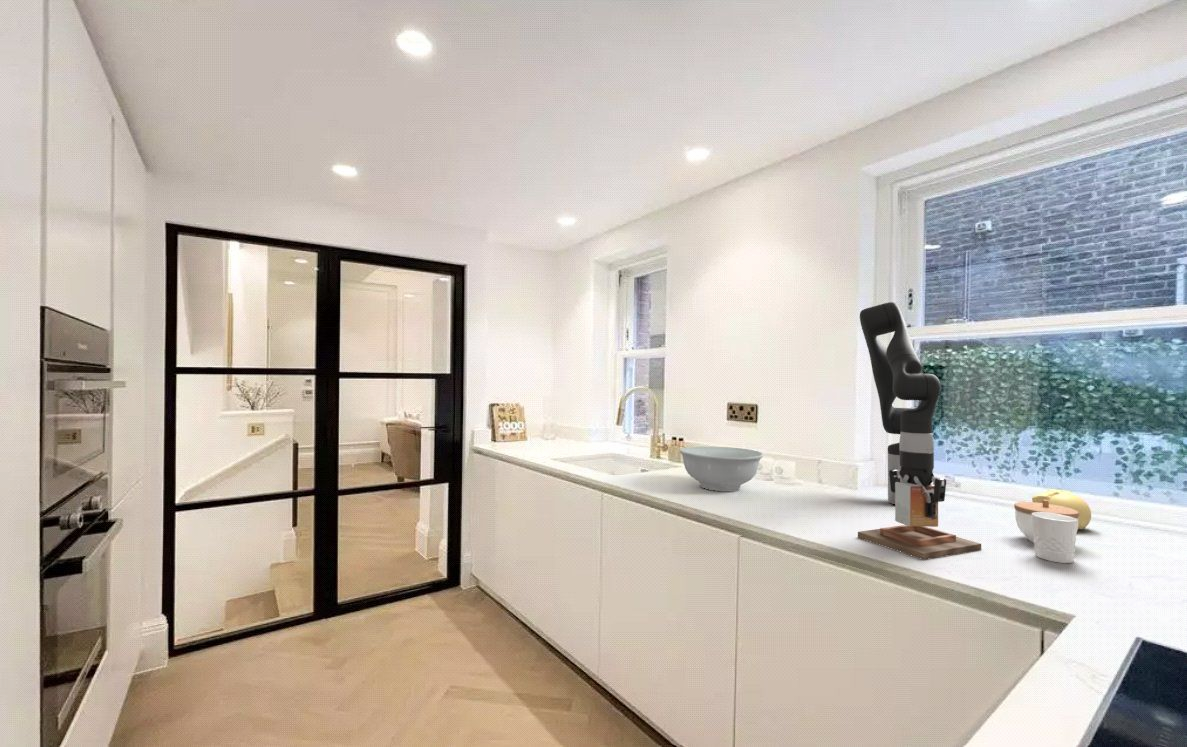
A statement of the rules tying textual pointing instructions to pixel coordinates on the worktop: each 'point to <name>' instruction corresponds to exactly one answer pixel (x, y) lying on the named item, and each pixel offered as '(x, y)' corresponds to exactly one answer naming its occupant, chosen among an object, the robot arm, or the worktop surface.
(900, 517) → the small box
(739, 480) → the bowl
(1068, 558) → the white cup
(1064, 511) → the lidded bowl
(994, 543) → the worktop surface
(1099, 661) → the worktop surface
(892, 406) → the robot arm
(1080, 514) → the sculpture
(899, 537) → the walnut board
